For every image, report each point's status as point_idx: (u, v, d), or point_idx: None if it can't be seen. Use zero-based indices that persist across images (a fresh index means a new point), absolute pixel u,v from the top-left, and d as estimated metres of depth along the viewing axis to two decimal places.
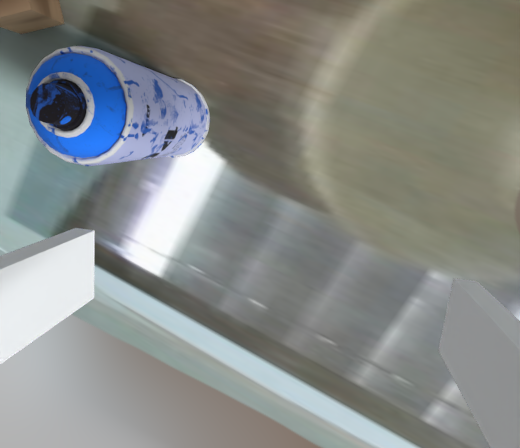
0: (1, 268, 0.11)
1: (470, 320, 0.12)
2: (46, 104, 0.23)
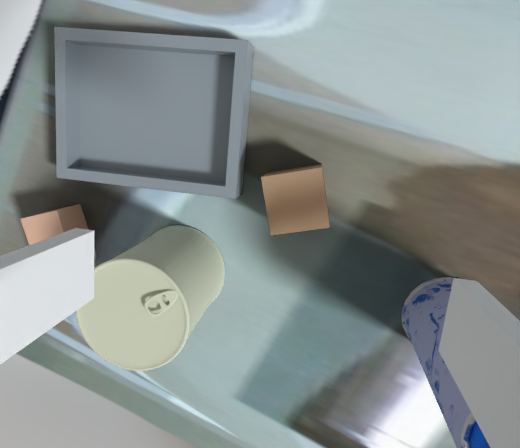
0: (1, 268, 0.11)
1: (469, 320, 0.12)
2: None
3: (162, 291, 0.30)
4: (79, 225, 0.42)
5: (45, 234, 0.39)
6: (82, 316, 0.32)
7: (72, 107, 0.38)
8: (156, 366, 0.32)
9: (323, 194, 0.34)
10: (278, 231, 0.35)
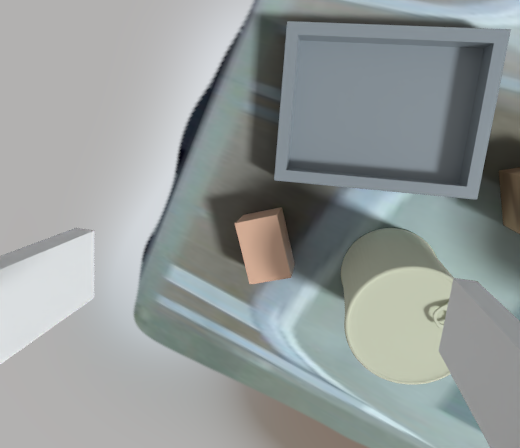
0: (1, 268, 0.11)
1: (470, 320, 0.12)
2: None
3: None
4: (285, 229, 0.40)
5: (261, 239, 0.38)
6: (352, 327, 0.30)
7: (293, 106, 0.37)
8: (433, 380, 0.30)
9: None
10: None
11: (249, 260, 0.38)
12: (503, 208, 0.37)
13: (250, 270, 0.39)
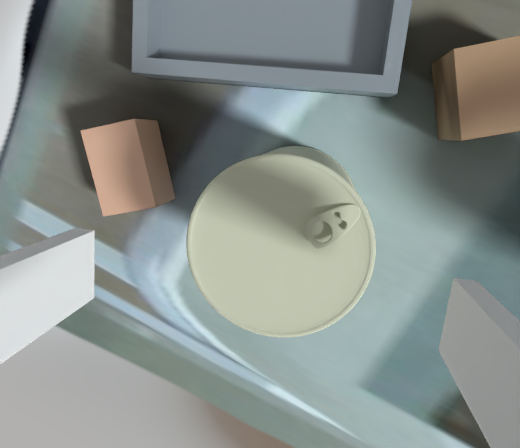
0: (1, 268, 0.11)
1: (469, 320, 0.12)
2: None
3: (334, 207, 0.19)
4: (157, 148, 0.30)
5: (115, 153, 0.28)
6: (197, 252, 0.20)
7: None
8: (313, 330, 0.20)
9: None
10: (474, 133, 0.23)
11: (101, 183, 0.29)
12: (437, 115, 0.28)
13: (103, 196, 0.29)
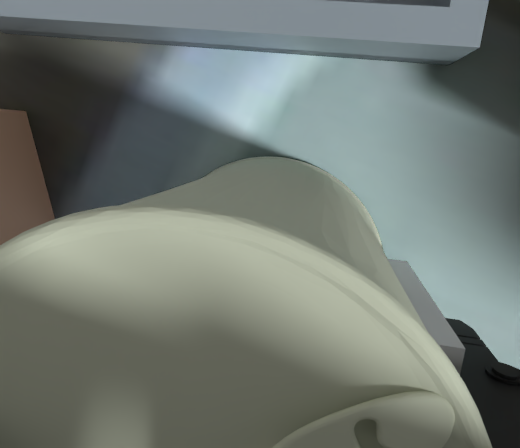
0: None
1: None
2: None
3: (359, 397, 0.05)
4: (18, 161, 0.17)
5: None
6: None
7: None
8: None
9: None
10: None
11: None
12: None
13: None
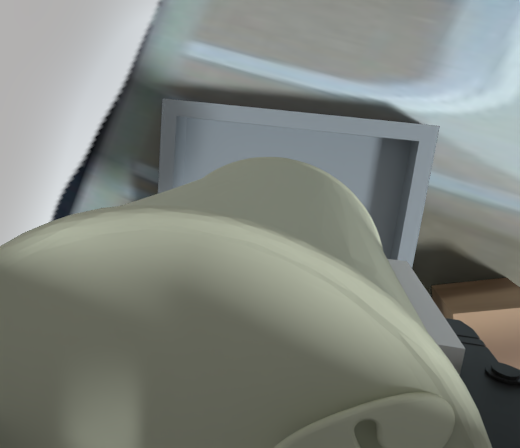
0: None
1: None
2: None
3: (359, 398, 0.05)
4: None
5: None
6: None
7: None
8: None
9: None
10: None
11: None
12: None
13: None
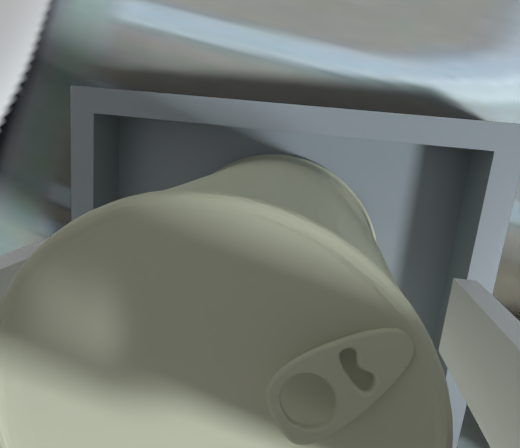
0: (1, 268, 0.11)
1: (469, 320, 0.12)
2: None
3: (343, 333, 0.07)
4: None
5: None
6: (14, 420, 0.09)
7: None
8: None
9: None
10: None
11: None
12: None
13: None
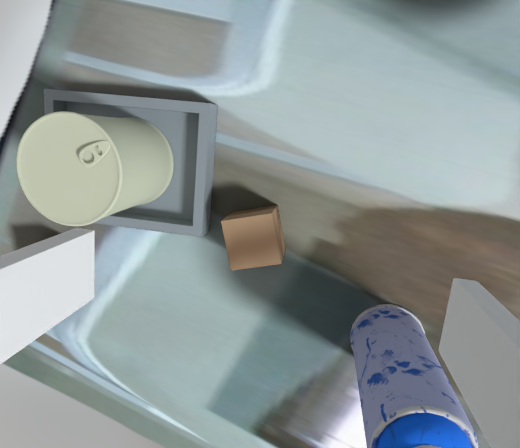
0: (1, 268, 0.11)
1: (469, 320, 0.12)
2: None
3: (95, 142, 0.32)
4: None
5: None
6: (23, 173, 0.34)
7: None
8: (93, 220, 0.33)
9: (274, 235, 0.39)
10: (237, 266, 0.40)
11: None
12: None
13: None
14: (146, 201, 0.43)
